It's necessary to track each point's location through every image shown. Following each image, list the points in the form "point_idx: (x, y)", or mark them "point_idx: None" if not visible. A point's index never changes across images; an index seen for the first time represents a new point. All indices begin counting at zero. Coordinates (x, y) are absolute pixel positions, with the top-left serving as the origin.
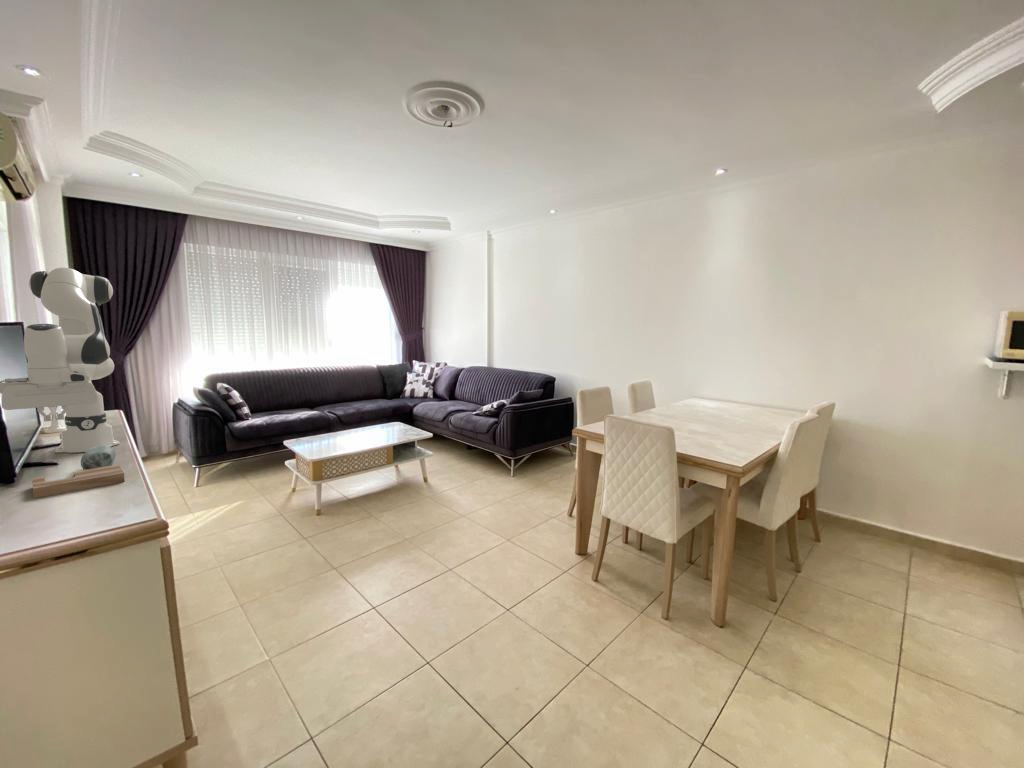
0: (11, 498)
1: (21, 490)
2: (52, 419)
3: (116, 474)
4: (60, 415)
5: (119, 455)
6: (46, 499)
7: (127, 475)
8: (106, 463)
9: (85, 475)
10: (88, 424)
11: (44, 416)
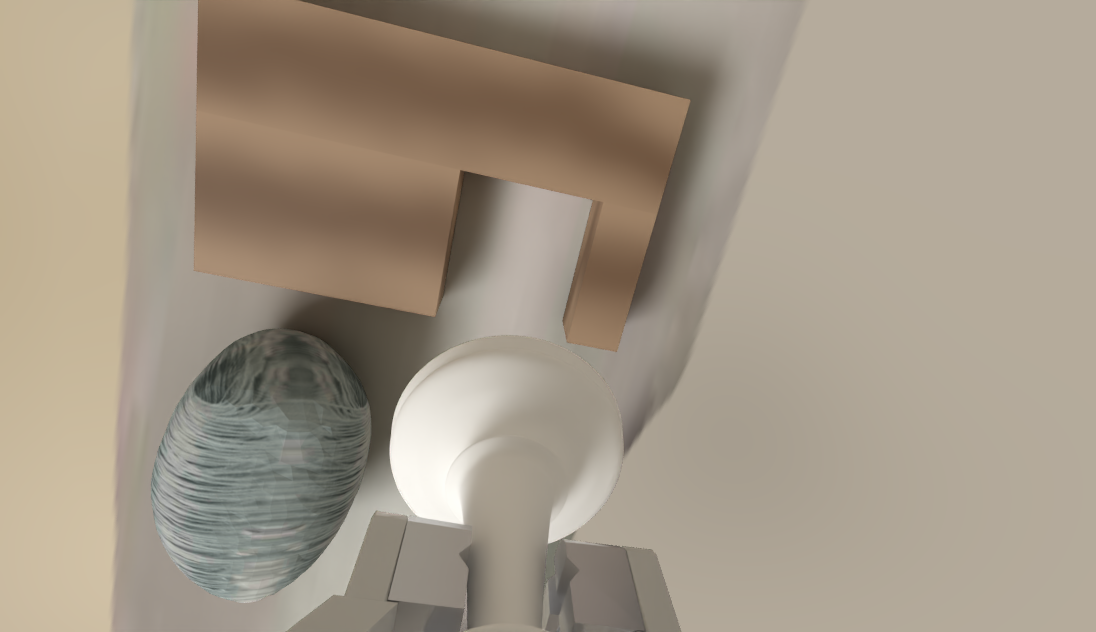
0: (728, 205)
1: (654, 321)
2: (538, 560)
3: None
4: (411, 580)
5: (166, 622)
6: (644, 5)
7: (195, 142)
8: (250, 339)
9: (408, 152)
10: None
11: (666, 626)
